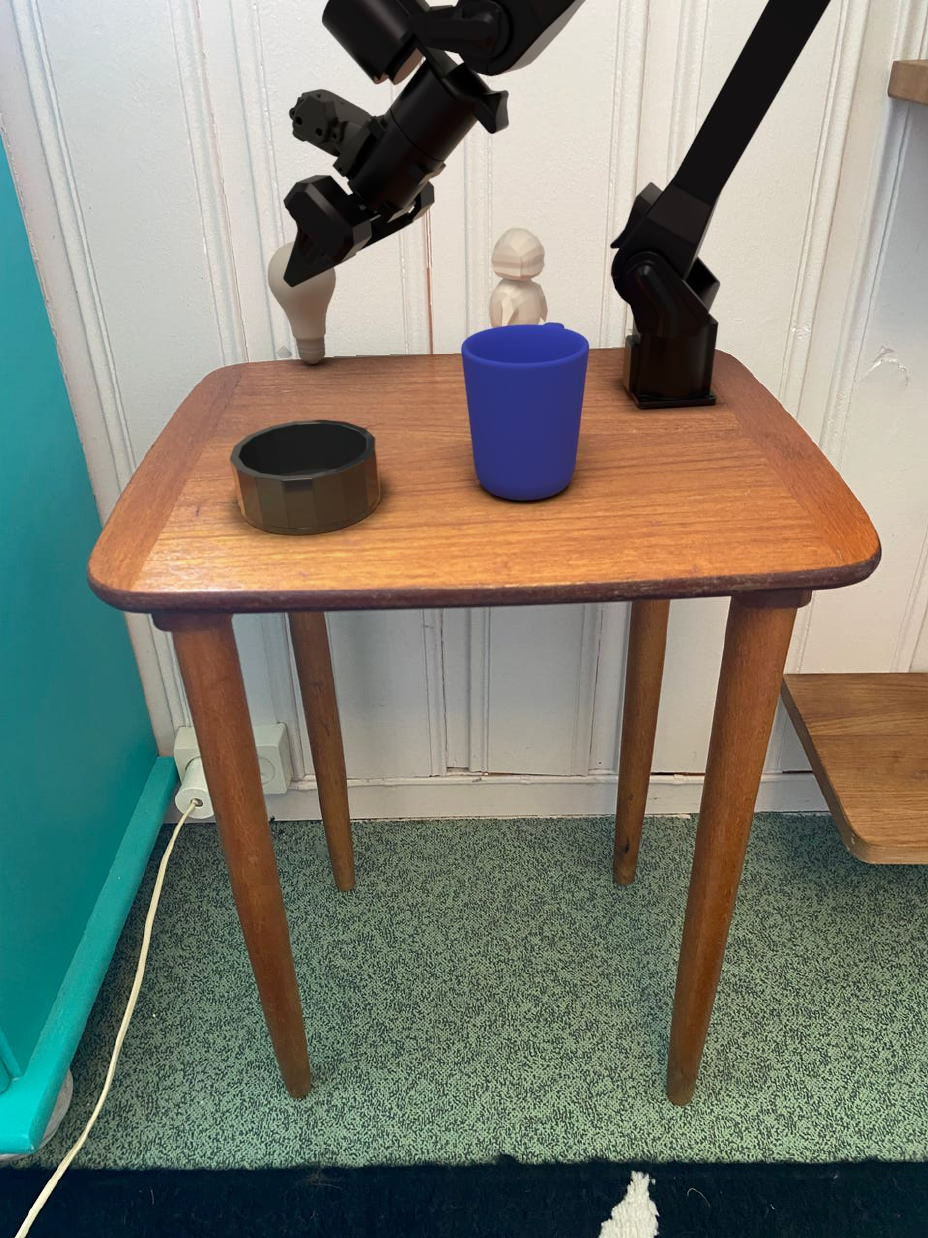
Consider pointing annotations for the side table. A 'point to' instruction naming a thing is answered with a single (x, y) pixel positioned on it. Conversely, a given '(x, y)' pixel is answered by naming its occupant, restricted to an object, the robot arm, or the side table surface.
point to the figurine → (517, 280)
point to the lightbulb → (303, 304)
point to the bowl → (306, 476)
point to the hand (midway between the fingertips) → (312, 269)
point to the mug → (525, 406)
